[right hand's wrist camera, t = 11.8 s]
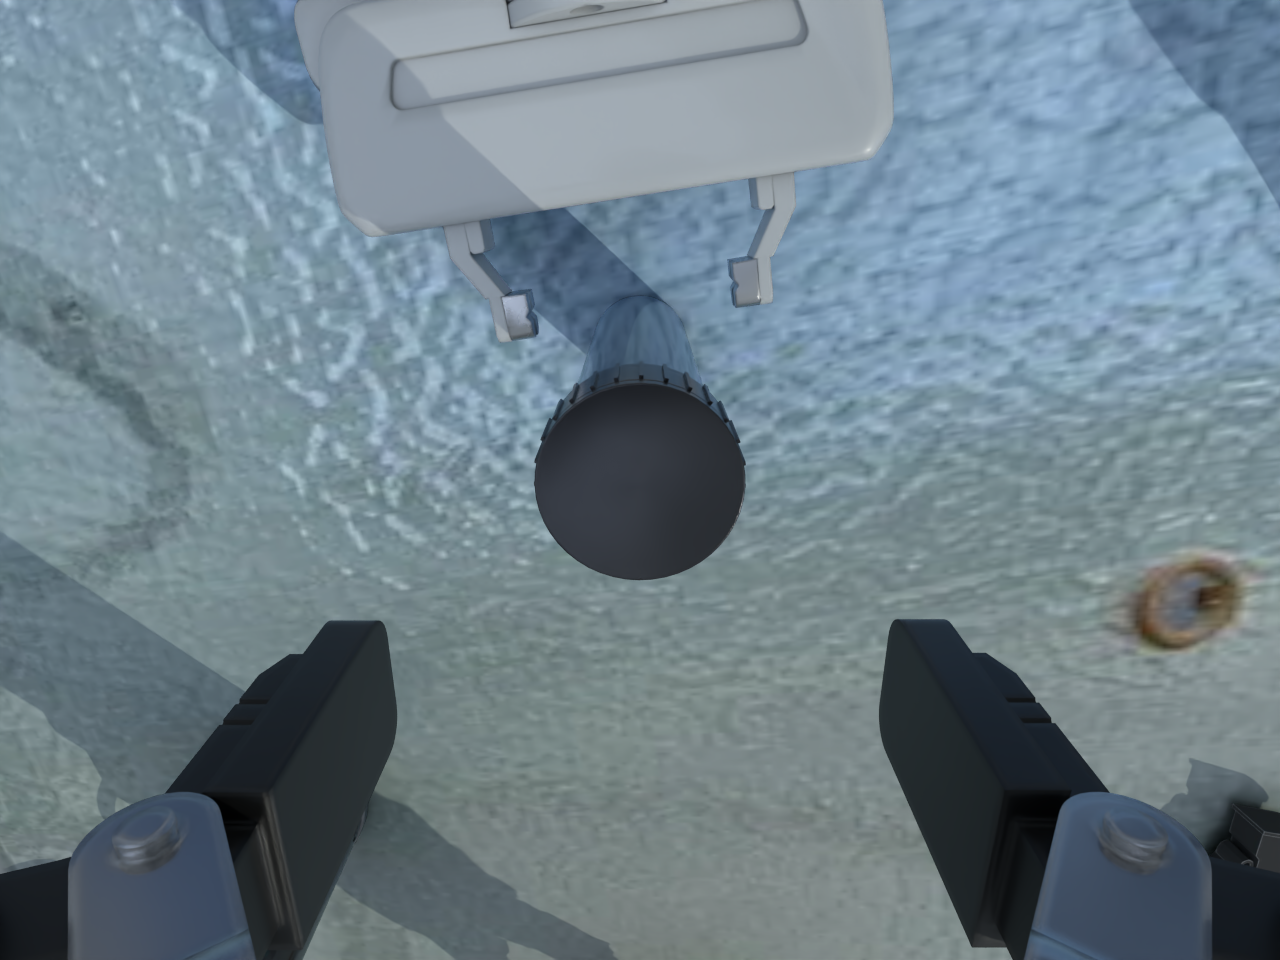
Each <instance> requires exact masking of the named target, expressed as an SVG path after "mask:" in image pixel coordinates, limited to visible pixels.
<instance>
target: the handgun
mask: <svg viewBox="0 0 1280 960" xmlns="http://www.w3.org/2000/svg"><path fill="white" fill-rule="evenodd" d="M1231 807H1232V808H1233V809H1234V810H1235V813H1234V817H1233V820H1232V823H1231V827H1230V830H1229V832H1230V833H1231V834H1232V837H1231V841H1230V840H1228V839H1227V840H1224V841H1221V842H1220V844H1219V845H1218V846H1217V849H1216V850H1215V851H1214V852H1213V853H1212V854H1211V856H1210V857H1214V858H1218V859H1222V860H1226V861H1230V862H1235V863H1239V864H1243V865H1247V866H1252V867H1256V868H1260V869H1264V870H1269V871H1273V872H1277V873H1280V813H1278V812H1274V811H1269V810H1264V809H1259V808H1254V807H1248V806H1243V805H1238V804H1233V803H1232V806H1231Z"/></svg>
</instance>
